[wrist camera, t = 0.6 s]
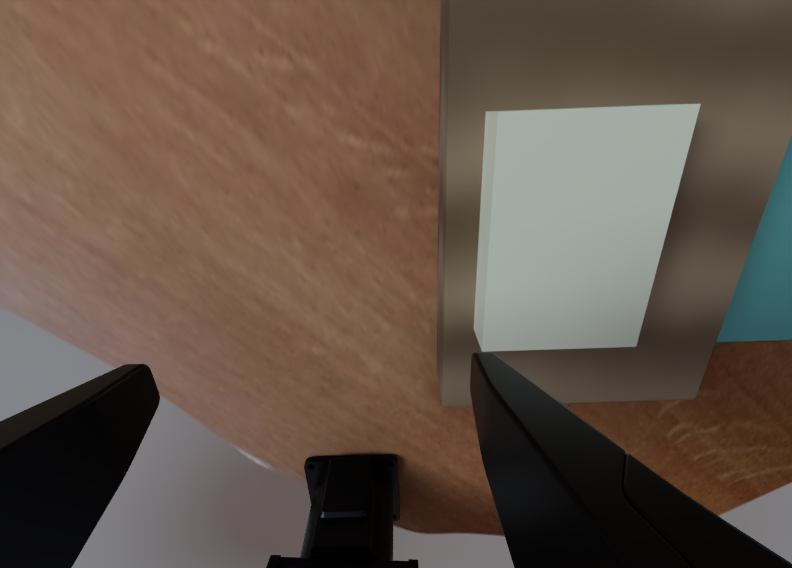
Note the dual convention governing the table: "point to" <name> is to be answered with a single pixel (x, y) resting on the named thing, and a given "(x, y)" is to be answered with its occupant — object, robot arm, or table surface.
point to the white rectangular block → (574, 222)
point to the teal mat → (766, 272)
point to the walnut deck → (604, 87)
